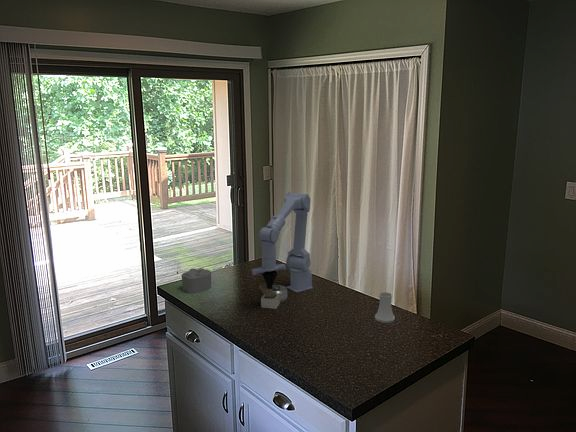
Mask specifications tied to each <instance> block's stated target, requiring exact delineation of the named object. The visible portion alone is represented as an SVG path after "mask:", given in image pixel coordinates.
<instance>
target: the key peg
mask: <svg viewBox="0 0 576 432" xmlns="http://www.w3.org/2000/svg"><path fill="white" fill-rule="evenodd" d="M258 287H259V289H260V290H261V292H262V293H263V295H265V296H266V297H267V298H275V297H276V296H275V295H274V294H273V292H272V291H271V290H270V289H268V288H267V285H266V282H265V281H263V282H262V283H261V284H259V285H258Z"/></svg>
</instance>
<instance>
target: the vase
mask: <svg viewBox="0 0 576 432" xmlns="http://www.w3.org/2000/svg"><path fill="white" fill-rule="evenodd" d="M378 297H379V305H378V308H377V309H378V310H377V312H376V313H375V315H374V319H375V321H377V322H379V323H383V324H389V323H390V324H391V323H393V322H394V321H395V319H396V318H395V317H396V316H395V315H394V313H393V309H392V299H393V298H392V297H393V294H392V293H391V292H380V293H379V295H378Z"/></svg>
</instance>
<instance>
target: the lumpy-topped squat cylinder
mask: <svg viewBox="0 0 576 432" xmlns="http://www.w3.org/2000/svg"><path fill="white" fill-rule="evenodd" d="M211 272H212V271H211V270H210V269H207V268H206V269H205V268H202V267H200V268H194V267H193V268H190V269H189V270H187V271H185V272H183V273H181V287H182V291H185V292H186V293H187V294H190V295H192V294H193V295H194V294H198V293H201V292H206V291H208V290H210V289H211V288H212V273H211Z"/></svg>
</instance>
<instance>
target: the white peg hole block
mask: <svg viewBox="0 0 576 432" xmlns="http://www.w3.org/2000/svg"><path fill="white" fill-rule="evenodd" d="M270 290H271V291H272V292H273V294H274V295H275V296H276V297H275V298H267V297H266V296H265V295H264V294H263V295H262V296H261V298H260V307H261V309H262V308H263V309H264V308H265V309H273V310H277V308H278V306H279V305H280V304H281V303H282V302H285V301H286V300H287V299H288V288H287V286H285V285H281V284H275V285H274V284H273V286H272V289H270Z"/></svg>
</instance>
